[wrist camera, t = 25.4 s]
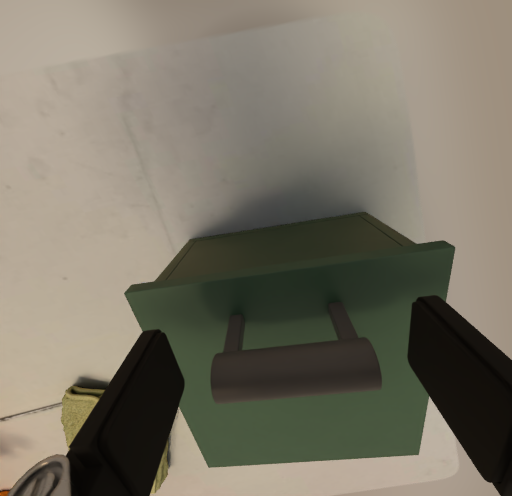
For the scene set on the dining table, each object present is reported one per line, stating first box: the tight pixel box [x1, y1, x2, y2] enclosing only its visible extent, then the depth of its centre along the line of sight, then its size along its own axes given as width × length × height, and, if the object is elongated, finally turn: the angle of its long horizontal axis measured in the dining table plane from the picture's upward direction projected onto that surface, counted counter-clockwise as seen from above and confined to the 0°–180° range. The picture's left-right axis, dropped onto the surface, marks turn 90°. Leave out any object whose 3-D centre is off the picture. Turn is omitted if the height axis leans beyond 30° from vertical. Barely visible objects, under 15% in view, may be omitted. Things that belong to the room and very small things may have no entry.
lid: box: [124, 241, 455, 468], centre depth 13 cm, size 17×16×5 cm
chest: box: [154, 212, 416, 282], centre depth 20 cm, size 16×16×9 cm
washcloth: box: [61, 386, 169, 494], centre depth 31 cm, size 13×18×3 cm
